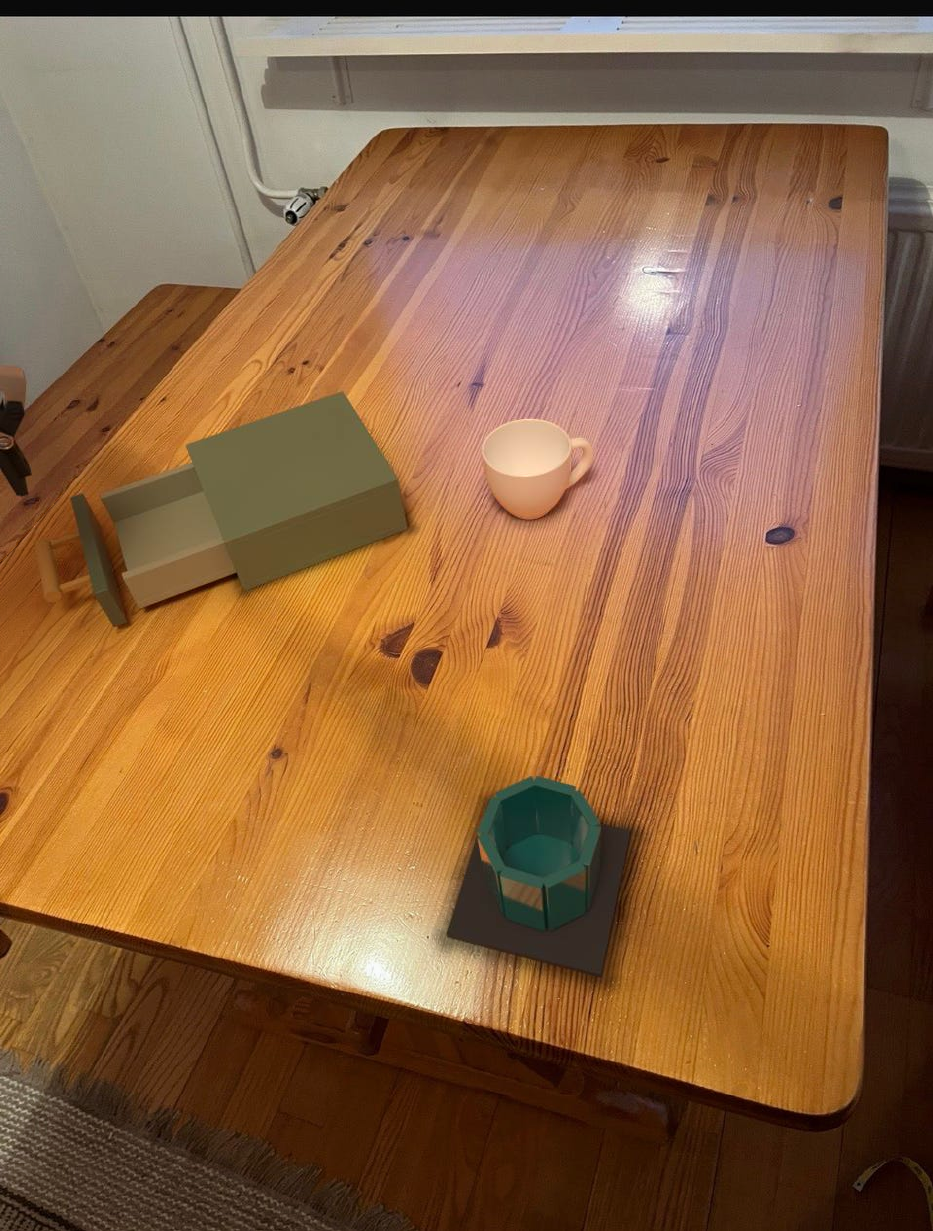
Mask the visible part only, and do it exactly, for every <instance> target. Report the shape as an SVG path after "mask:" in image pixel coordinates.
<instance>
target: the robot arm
mask: <svg viewBox="0 0 933 1231" xmlns="http://www.w3.org/2000/svg"><path fill="white" fill-rule="evenodd" d="M0 392H2V393H3V397H2V399H1V400H0V471H1V473H2V475H3V476H4V477H5V479H6V481H7V483H8V485H9V486H10V487H11V489H12V491H13V492H14V494H15V495H16V496H17V497H20V498H23V497H26V496H28V495H29V490H28V484H27V483H28V482H27V477H30V476H32V474H33V472H32V468H31V466H30V463H29V462H28V460H27V458H26V456H25V454H24V452H23V451H22V450H21V448H20V445H18V442H17V441H16V439H15V436H16V434H17V432H18V430H19V427H20V426H21V424H22V421H23V420H24V417H25V415H26V412H25V406H26V393H27V379H26V375H25V371H24V369H23V368H22V367H20V366H15V365H6V364H0Z"/></svg>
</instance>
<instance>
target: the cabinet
mask: <svg viewBox="0 0 933 1231" xmlns="http://www.w3.org/2000/svg"><path fill="white" fill-rule="evenodd" d="M185 448H186V451H187V453H188V456H189V458H190V460H191V462H192V463H193V465H194V468H195V470H196V473H197V475H198V478H199V480H200V483H201V485H202V488H203V490H204V493H205V495H206V498H207V500H208V503H209V506H210V508H211V511H212V513H213V516H214V518H215V521H216V523H217V526H218V528H219V531H220V533H221V536H222V538H223V541H224V543H225V545H226V548H227V550H228V553H229V555H230V558H231V560H232V562H233V565H234V567H235V570H236V574H237V577H238V580H239V582H240V584H241V587H242V589H243V591H244V592H247V591H248V590H251V589H255V588H256V587H260V586H262V585H265V584H267V583H270V582H272V581H275V580H278V579H281V578H283V577H286V576H289V575H291V574H293V573H296V572H299V571H302V570H305V569H307V568H309V567H312V566H315V565H317V564H320V563H323V562H325V561H328V560H331V559H333V558H336V557H338V556H341V555H344V554H346V553H349V552H351V551H355V550H357V549H359V548H363V547H365V546H367V545H371V544H373V543H375V542H378V541H381V540H383V539H386V538H389V537H391V536H394V535H397V534H398V533H402V532H404V531H407V530H408V529H409V526H408V523H407V522H408V521H407V518H406V513H405V506H404V501H403V497H402V491H401V487H400V482H399V481H400V480H399V478H398V476H397V475H396V473H395V471H394V470H393V468H392V467H391V465H390V463H389V462H388V460H387V459H386V457H385V456H384V453H383V452H382V451H381V449H380V448H379V446H378V445H377V443H376V441H375V439H374V438H373V436H372V435H371V433H370V431H369V429H368V428H367V426H365V424H364V422H363V420H362V419H361V417H360V416H359V414H358V413H357V411H356V409H355V408H354V406H353V404H352V403H351V402H350V399H348V397H347V395H346V394H345V392H344V391H343V390H341V391H339V392H335V393H333V394H330V395H327V396H324V397H321V398H318V399H315V400H313V401H309V402H306V403H303V404H301V405H298V406H295V407H292V408H288V409H286V410H283V411H280V412H276V413H274V414H271V415H268V416H266V417H265V416H264V417H262V418H259V419H256V420H254V421H251V422H248V423H245V424H242V425H238V426H236V427H233V428H230V429H227V430H225V431H221V432H219V433H216V434H213V435H210V436H207V437H204V438H201V439H198V440H195V441H192V442H190V443H186V444H185Z"/></svg>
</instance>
